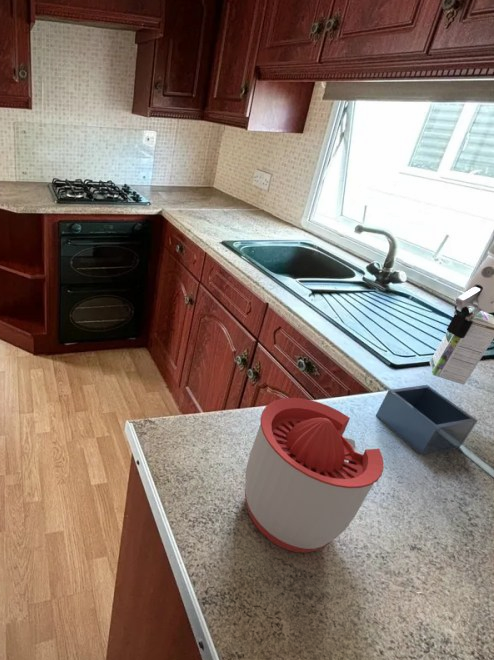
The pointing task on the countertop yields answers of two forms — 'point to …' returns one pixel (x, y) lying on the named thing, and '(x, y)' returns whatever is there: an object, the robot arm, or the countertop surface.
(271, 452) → the citrus juicer
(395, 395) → the box
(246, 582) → the countertop surface
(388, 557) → the countertop surface
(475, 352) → the syrup box
